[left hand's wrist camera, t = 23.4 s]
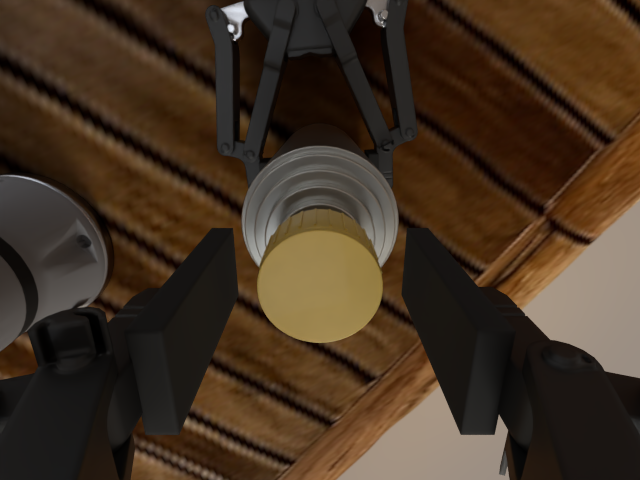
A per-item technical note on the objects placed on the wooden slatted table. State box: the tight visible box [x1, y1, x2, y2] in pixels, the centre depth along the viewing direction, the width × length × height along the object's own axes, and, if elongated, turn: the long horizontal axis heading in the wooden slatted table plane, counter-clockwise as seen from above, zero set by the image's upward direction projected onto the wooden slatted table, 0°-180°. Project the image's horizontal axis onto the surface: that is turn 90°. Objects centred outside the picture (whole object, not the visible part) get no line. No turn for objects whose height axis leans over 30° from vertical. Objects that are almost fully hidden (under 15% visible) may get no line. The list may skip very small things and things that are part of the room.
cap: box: [257, 208, 383, 343], centre depth 13 cm, size 4×4×2 cm
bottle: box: [241, 123, 399, 267], centre depth 24 cm, size 8×8×25 cm
